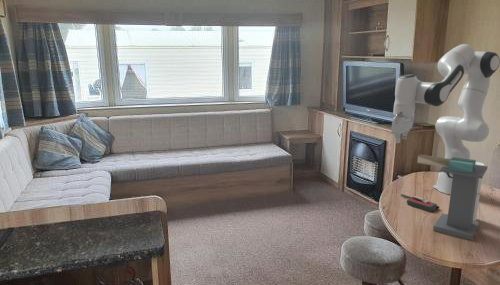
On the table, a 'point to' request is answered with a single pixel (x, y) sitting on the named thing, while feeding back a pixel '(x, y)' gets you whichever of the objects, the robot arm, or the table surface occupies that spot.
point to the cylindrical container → (477, 194)
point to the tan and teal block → (449, 163)
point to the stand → (461, 204)
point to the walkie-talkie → (421, 203)
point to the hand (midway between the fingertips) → (400, 141)
